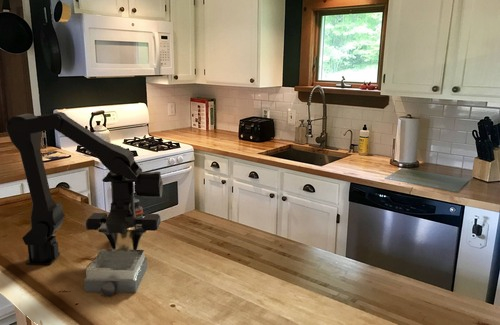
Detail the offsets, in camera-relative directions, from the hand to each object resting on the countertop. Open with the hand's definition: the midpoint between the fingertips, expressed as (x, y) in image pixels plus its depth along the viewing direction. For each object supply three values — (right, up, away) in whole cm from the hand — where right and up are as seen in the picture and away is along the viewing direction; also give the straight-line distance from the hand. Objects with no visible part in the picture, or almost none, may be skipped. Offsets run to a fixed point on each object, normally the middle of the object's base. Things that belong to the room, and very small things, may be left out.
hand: (125, 250), depth 112 cm
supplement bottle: (-3, +1, +17) cm, 17 cm away
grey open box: (+1, -5, -10) cm, 11 cm away
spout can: (0, -2, +1) cm, 3 cm away
